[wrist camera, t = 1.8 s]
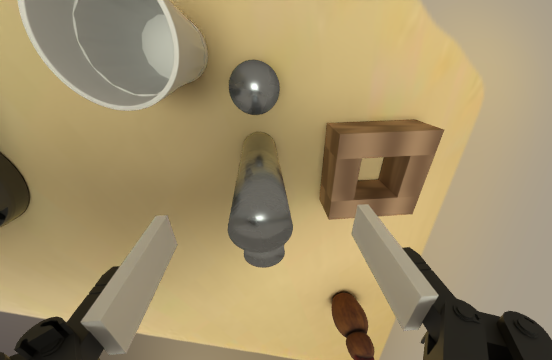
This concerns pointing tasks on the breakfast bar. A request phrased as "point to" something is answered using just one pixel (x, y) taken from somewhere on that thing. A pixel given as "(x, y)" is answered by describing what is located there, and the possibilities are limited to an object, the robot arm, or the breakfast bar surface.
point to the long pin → (259, 198)
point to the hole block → (394, 173)
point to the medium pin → (265, 257)
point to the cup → (116, 48)
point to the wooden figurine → (352, 326)
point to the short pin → (254, 87)
